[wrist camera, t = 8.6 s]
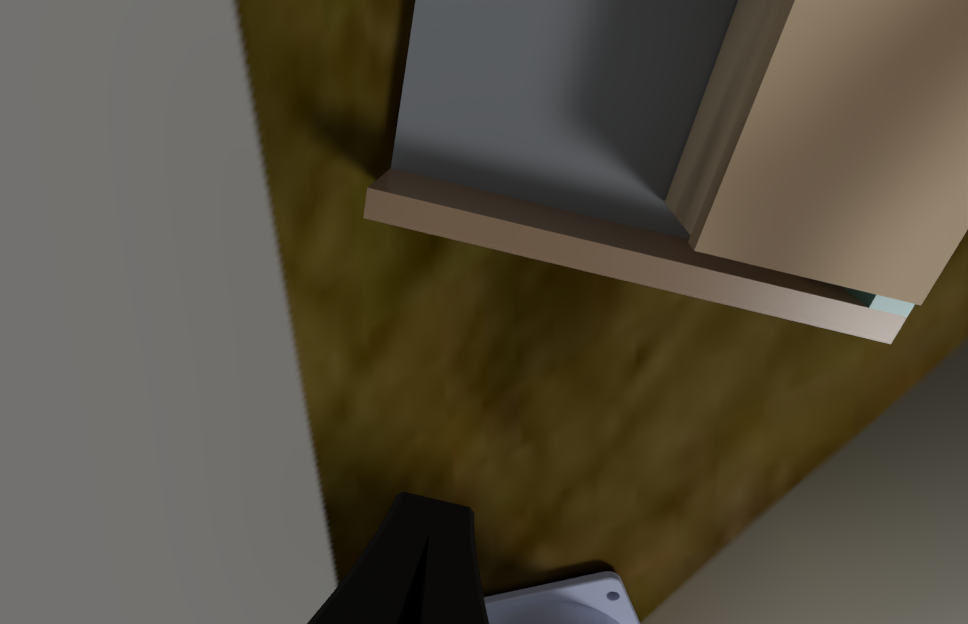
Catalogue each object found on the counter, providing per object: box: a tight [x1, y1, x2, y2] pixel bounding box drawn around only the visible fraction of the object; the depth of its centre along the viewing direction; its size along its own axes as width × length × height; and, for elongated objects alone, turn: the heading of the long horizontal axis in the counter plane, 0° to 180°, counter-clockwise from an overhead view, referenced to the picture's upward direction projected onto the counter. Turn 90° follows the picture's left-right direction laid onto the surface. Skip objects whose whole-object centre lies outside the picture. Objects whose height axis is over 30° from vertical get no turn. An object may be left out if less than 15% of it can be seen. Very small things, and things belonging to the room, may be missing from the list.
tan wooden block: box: [665, 0, 968, 305], centre depth 13 cm, size 5×6×4 cm
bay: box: [364, 0, 915, 344], centre depth 14 cm, size 14×9×3 cm, turn 78°
